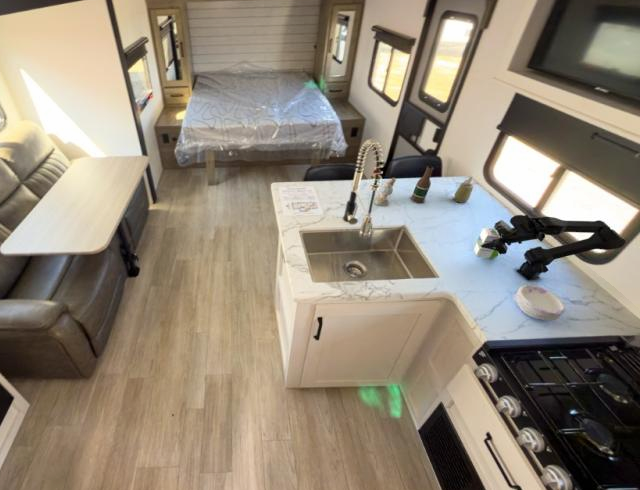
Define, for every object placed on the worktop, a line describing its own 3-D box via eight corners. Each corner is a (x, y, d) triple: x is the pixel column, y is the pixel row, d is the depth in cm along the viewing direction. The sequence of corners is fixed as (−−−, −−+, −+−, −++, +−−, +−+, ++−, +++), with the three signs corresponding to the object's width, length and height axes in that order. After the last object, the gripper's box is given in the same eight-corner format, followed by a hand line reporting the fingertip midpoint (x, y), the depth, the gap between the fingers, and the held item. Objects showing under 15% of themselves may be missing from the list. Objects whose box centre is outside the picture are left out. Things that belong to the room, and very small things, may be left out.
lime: (498, 259, 161) (503, 251, 158) (489, 260, 161) (494, 253, 157) (489, 252, 165) (494, 244, 162) (481, 253, 165) (485, 246, 162)
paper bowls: (535, 294, 143) (545, 283, 139) (563, 324, 131) (575, 313, 127) (502, 295, 143) (511, 284, 138) (528, 325, 131) (538, 314, 126)
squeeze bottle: (449, 198, 204) (460, 174, 193) (458, 195, 207) (469, 172, 196) (461, 205, 198) (473, 181, 188) (469, 202, 201) (482, 178, 190)
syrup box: (489, 258, 156) (501, 236, 147) (475, 256, 157) (487, 235, 149) (485, 250, 160) (497, 228, 152) (472, 249, 161) (483, 227, 153)
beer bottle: (411, 202, 201) (424, 169, 187) (410, 195, 207) (422, 163, 193) (424, 204, 200) (438, 171, 185) (422, 197, 206) (436, 165, 191)
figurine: (387, 208, 197) (396, 180, 185) (373, 204, 200) (381, 177, 188) (389, 200, 203) (398, 173, 191) (376, 197, 206) (384, 170, 195)
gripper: (515, 210, 148) (478, 219, 160) (509, 230, 137) (469, 238, 149) (527, 230, 148) (489, 237, 161) (522, 251, 137) (482, 257, 150)
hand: (482, 242), depth 155 cm, fingers closed on syrup box, 7 cm apart
